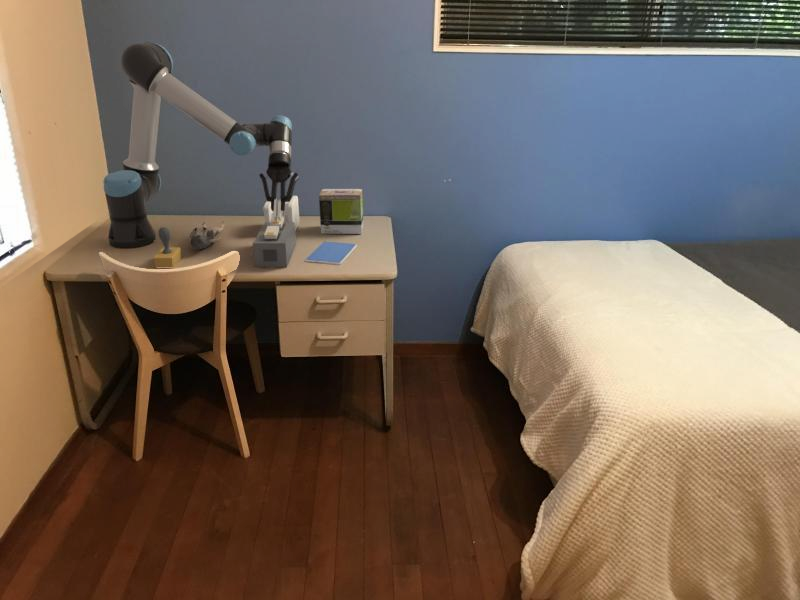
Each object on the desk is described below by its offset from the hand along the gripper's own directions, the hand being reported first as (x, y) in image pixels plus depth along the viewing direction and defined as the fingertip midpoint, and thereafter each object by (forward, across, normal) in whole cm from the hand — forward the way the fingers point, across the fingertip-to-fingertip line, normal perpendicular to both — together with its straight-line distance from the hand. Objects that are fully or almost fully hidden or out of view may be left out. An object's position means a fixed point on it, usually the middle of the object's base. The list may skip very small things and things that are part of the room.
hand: (277, 218), depth 201 cm
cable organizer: (-9, +2, -25) cm, 26 cm away
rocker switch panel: (+10, +1, -6) cm, 12 cm away
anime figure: (0, +27, -15) cm, 31 cm away
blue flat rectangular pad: (+10, -17, -8) cm, 21 cm away
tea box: (-8, -20, -25) cm, 33 cm away
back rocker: (0, 0, -3) cm, 3 cm away
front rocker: (+8, +1, +4) cm, 9 cm away
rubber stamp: (+15, +34, -1) cm, 37 cm away
